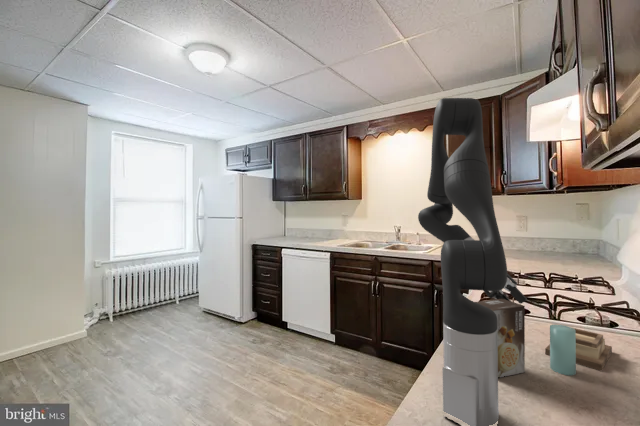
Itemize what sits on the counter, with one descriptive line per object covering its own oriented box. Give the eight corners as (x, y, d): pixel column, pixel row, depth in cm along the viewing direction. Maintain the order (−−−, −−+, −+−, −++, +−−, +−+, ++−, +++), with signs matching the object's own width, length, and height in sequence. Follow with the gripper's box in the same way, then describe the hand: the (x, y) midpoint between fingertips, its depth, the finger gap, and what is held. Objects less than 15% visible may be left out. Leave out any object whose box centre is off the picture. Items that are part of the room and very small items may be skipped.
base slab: (601, 371, 72) (601, 349, 72) (545, 354, 80) (545, 335, 80) (611, 352, 81) (611, 333, 80) (560, 338, 89) (560, 321, 89)
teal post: (573, 377, 69) (572, 334, 69) (547, 369, 73) (547, 328, 73) (578, 370, 72) (577, 328, 72) (553, 362, 76) (553, 322, 76)
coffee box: (502, 359, 78) (503, 297, 77) (525, 373, 72) (526, 305, 71) (472, 365, 75) (473, 301, 75) (493, 379, 69) (494, 310, 68)
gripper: (470, 251, 82) (520, 303, 73) (492, 245, 91) (539, 291, 82) (451, 268, 86) (496, 319, 77) (474, 261, 95) (516, 306, 86)
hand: (518, 305), depth 80 cm, fingers open, 8 cm apart
